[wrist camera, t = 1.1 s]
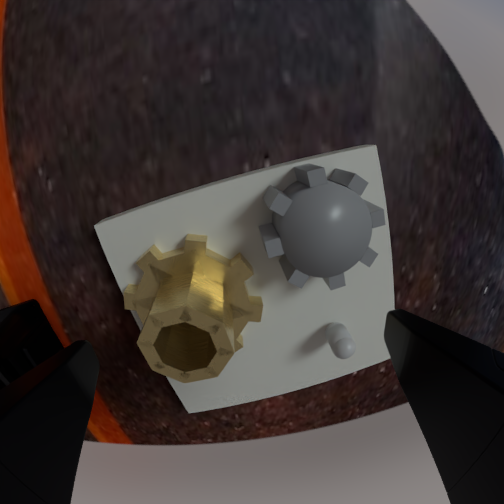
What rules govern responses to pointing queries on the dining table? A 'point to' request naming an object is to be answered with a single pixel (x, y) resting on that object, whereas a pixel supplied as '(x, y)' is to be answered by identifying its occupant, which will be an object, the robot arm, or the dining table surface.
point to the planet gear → (192, 309)
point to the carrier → (281, 268)
